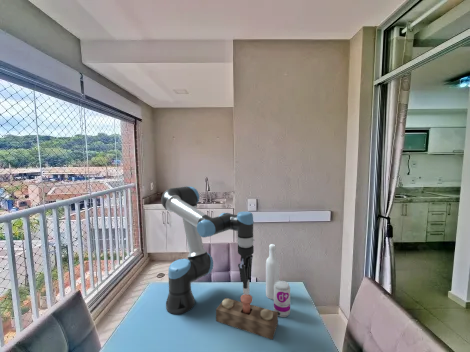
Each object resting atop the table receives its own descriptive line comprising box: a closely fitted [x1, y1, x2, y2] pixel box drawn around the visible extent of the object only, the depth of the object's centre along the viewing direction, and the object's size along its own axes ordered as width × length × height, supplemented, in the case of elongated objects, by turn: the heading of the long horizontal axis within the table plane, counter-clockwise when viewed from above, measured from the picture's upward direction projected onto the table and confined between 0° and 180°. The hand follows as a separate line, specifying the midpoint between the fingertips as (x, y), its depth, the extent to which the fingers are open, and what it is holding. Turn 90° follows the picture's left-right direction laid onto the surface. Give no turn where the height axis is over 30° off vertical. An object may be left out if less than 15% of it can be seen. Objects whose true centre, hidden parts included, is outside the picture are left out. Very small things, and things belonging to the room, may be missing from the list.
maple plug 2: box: [261, 308, 273, 321], centre depth 101 cm, size 6×6×7 cm
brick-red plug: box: [240, 294, 253, 314], centre depth 105 cm, size 6×6×7 cm
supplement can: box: [273, 280, 291, 318], centre depth 112 cm, size 8×8×15 cm
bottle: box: [265, 243, 280, 301], centre depth 125 cm, size 8×8×30 cm
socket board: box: [215, 297, 279, 340], centre depth 105 cm, size 28×10×6 cm, turn 66°
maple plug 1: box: [222, 298, 234, 309], centre depth 109 cm, size 6×6×7 cm
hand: (246, 293), depth 104 cm, fingers closed
